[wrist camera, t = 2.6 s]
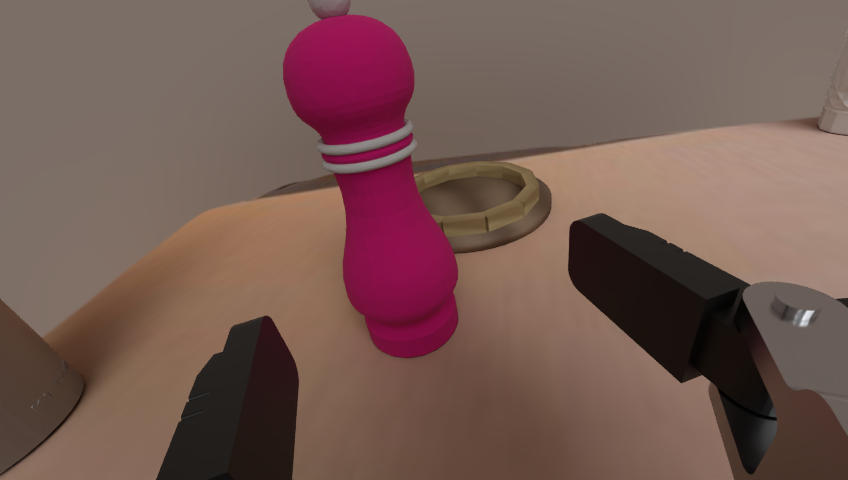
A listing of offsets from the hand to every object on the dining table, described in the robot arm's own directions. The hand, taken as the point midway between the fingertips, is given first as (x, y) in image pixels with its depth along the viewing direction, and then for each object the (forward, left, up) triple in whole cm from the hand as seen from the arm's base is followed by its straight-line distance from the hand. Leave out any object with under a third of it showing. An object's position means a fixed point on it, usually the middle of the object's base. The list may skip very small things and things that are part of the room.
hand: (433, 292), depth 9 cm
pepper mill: (+2, +11, -12) cm, 16 cm away
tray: (+14, +24, -11) cm, 30 cm away
